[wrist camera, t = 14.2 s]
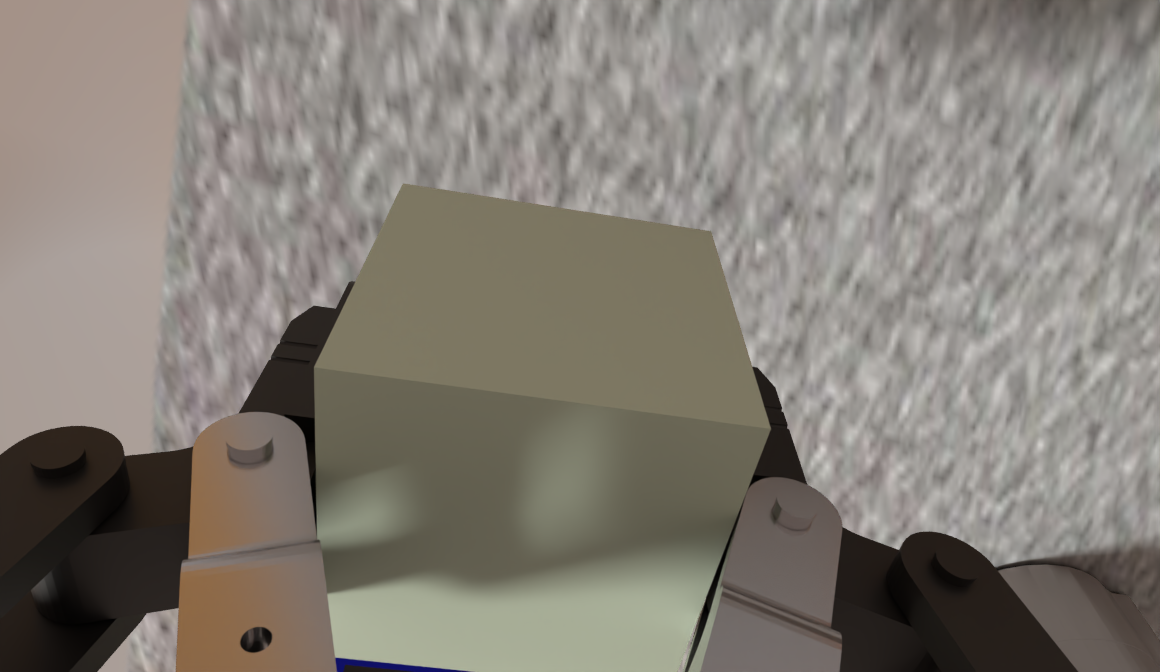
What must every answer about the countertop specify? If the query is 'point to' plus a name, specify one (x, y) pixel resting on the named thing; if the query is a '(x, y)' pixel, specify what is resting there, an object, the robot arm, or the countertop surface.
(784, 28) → the countertop surface
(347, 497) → the sage block
